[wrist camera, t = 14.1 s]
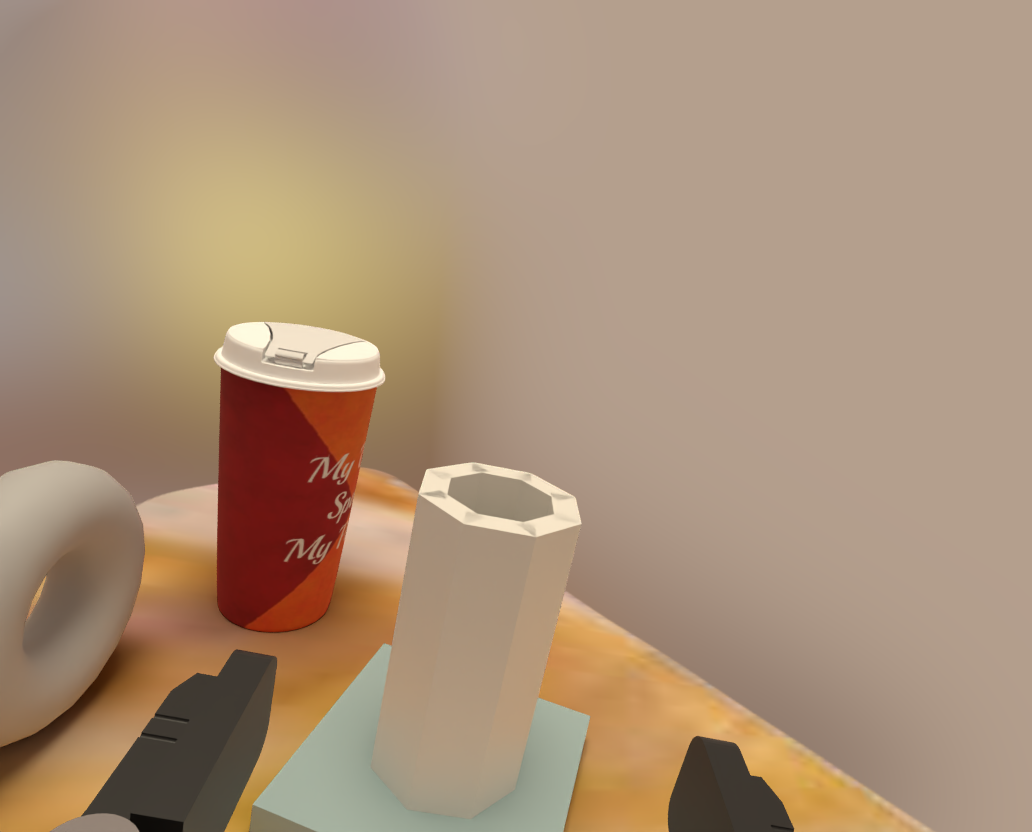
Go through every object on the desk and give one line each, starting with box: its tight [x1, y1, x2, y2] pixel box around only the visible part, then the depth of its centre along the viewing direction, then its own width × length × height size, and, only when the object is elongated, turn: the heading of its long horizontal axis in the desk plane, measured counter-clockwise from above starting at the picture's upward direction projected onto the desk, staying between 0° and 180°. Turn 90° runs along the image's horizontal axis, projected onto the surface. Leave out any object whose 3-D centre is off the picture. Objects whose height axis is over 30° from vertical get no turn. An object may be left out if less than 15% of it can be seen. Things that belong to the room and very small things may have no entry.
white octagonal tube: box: [371, 462, 581, 819], centre depth 25 cm, size 5×5×11 cm
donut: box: [0, 461, 145, 747], centre depth 24 cm, size 10×4×10 cm, turn 176°
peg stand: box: [249, 643, 590, 832], centre depth 25 cm, size 10×10×8 cm
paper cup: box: [214, 322, 385, 632], centre depth 34 cm, size 8×8×14 cm
